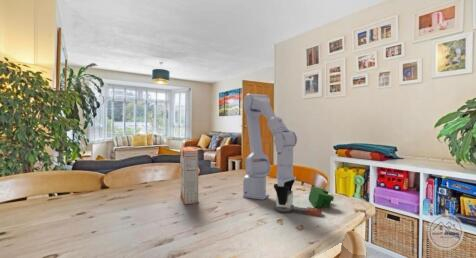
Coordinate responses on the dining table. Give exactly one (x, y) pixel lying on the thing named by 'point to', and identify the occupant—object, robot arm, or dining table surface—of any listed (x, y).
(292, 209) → the ratchet
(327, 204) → the clamp
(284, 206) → the socket
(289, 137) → the robot arm
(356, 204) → the dining table surface
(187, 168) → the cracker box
